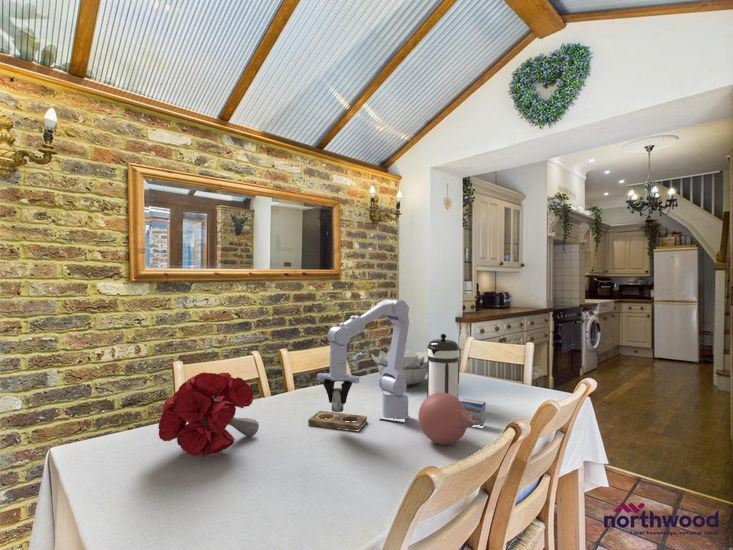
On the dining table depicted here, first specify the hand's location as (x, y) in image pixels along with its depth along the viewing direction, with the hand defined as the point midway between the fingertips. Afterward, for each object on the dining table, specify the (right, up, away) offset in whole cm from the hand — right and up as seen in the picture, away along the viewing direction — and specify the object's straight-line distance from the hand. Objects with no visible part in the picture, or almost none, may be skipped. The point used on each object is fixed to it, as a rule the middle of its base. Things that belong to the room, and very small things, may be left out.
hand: (337, 402), depth 131 cm
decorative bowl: (+29, -12, +62) cm, 70 cm away
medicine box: (+48, -11, +7) cm, 49 cm away
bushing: (0, -3, 0) cm, 3 cm away
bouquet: (-35, -9, -16) cm, 40 cm away
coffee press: (+41, -11, +27) cm, 51 cm away
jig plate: (0, -10, +6) cm, 11 cm away
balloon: (+35, -10, -11) cm, 38 cm away
